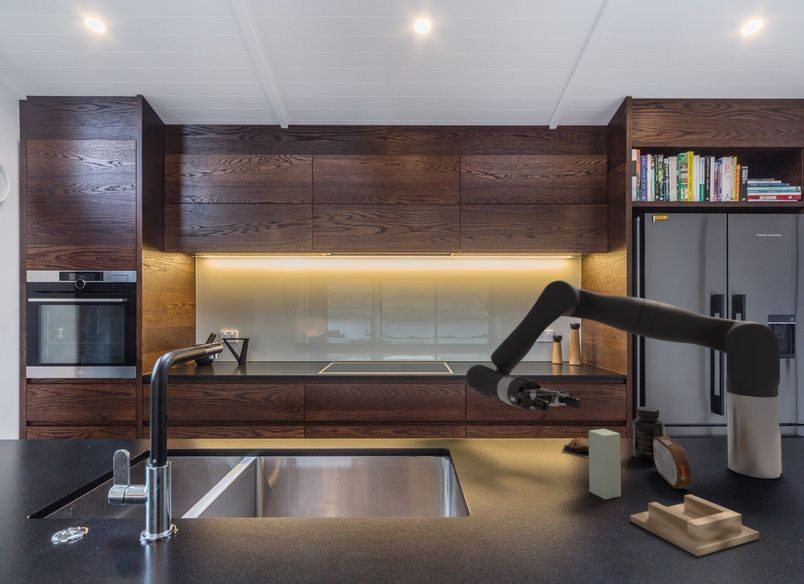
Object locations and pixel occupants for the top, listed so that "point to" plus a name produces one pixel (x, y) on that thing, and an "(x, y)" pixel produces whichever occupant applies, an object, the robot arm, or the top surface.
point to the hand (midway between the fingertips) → (563, 405)
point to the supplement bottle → (646, 433)
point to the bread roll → (578, 447)
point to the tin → (672, 462)
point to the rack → (696, 525)
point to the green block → (604, 463)
